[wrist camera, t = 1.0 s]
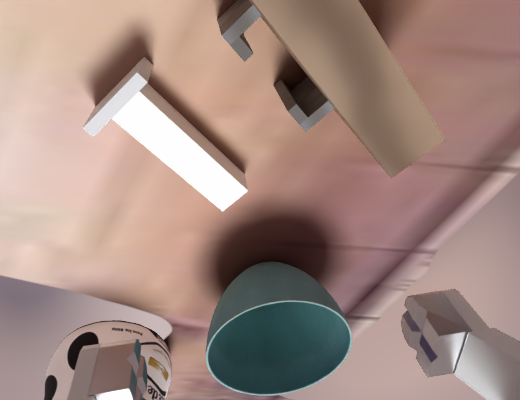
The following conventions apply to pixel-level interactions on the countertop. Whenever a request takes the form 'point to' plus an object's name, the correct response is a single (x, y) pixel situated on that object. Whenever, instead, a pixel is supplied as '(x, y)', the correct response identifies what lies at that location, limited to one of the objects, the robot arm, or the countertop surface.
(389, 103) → the brown wooden block
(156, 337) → the milk container
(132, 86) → the white t-shaped piece
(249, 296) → the teal bowl
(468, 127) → the countertop surface
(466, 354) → the robot arm
